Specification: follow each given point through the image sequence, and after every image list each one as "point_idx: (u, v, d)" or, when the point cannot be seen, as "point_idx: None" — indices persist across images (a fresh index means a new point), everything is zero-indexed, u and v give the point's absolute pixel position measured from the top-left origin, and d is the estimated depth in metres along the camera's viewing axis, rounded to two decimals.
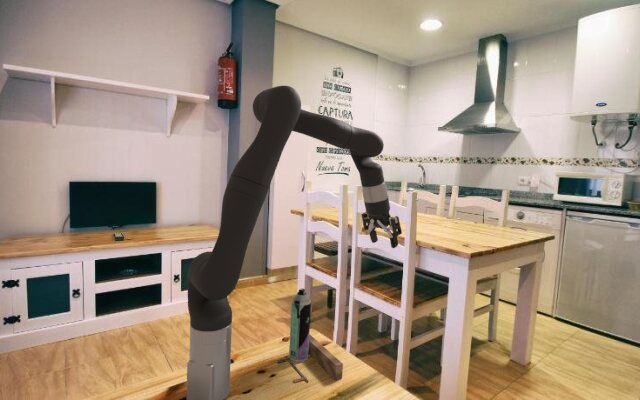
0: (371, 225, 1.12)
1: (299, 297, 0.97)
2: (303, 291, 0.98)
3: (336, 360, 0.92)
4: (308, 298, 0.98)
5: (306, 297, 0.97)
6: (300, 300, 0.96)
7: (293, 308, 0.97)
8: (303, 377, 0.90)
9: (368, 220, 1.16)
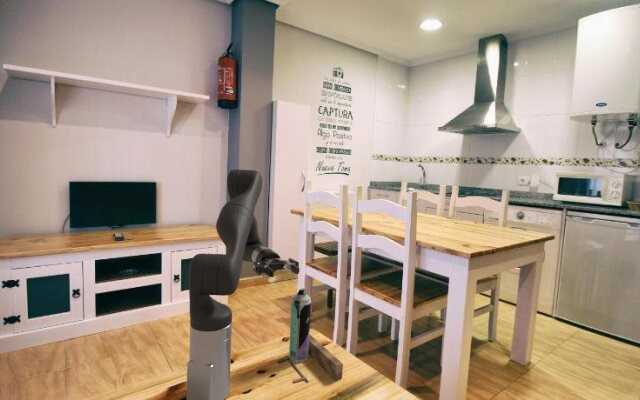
0: (269, 262, 1.12)
1: (299, 297, 0.97)
2: (303, 291, 0.98)
3: (336, 360, 0.92)
4: (308, 298, 0.98)
5: (306, 297, 0.97)
6: (300, 300, 0.96)
7: (293, 308, 0.97)
8: (303, 377, 0.90)
9: None
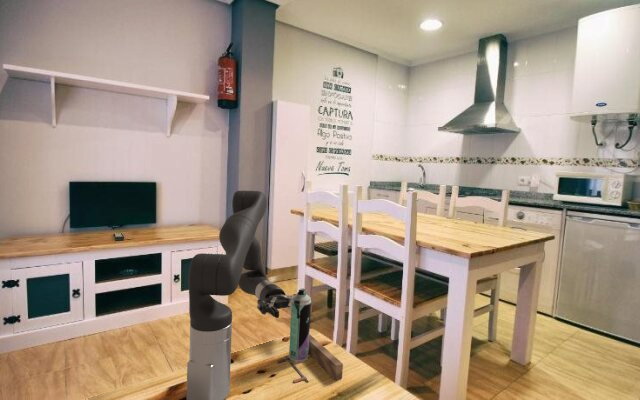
0: (274, 300, 1.08)
1: (299, 297, 0.97)
2: (303, 291, 0.98)
3: (336, 360, 0.92)
4: (308, 298, 0.98)
5: (306, 297, 0.97)
6: (300, 300, 0.96)
7: (293, 308, 0.97)
8: (303, 377, 0.90)
9: None
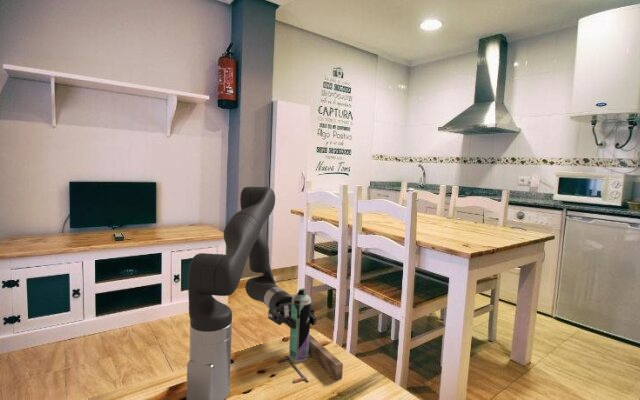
0: (287, 309, 1.02)
1: (299, 297, 0.97)
2: (303, 291, 0.98)
3: (336, 360, 0.92)
4: (308, 298, 0.97)
5: (306, 297, 0.97)
6: (300, 300, 0.96)
7: (293, 308, 0.97)
8: (303, 377, 0.90)
9: None
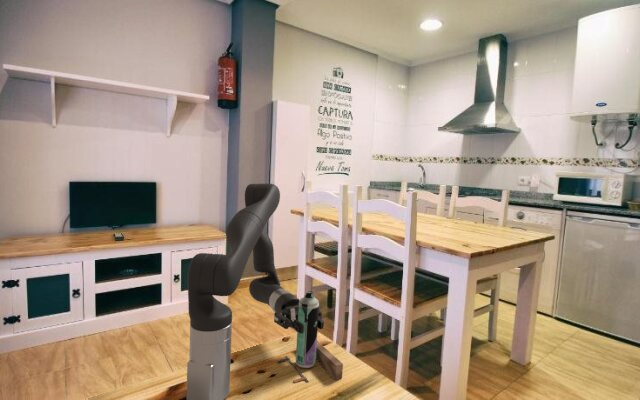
0: (293, 312, 0.98)
1: (307, 300, 0.93)
2: (311, 294, 0.94)
3: (336, 360, 0.92)
4: (316, 301, 0.94)
5: (314, 300, 0.94)
6: (308, 303, 0.92)
7: (300, 312, 0.93)
8: (303, 377, 0.90)
9: None
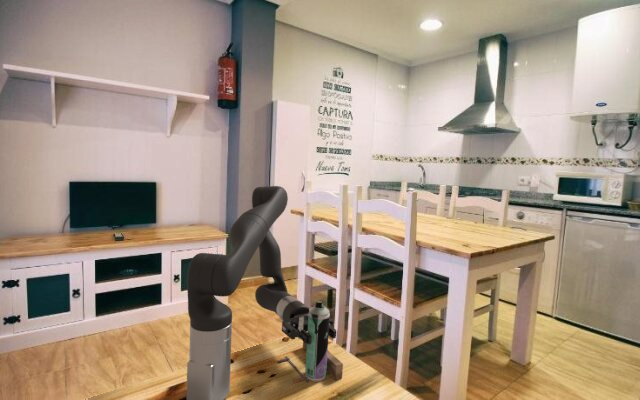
0: (302, 321, 0.93)
1: (317, 310, 0.88)
2: (321, 304, 0.89)
3: (336, 360, 0.92)
4: (327, 311, 0.89)
5: (324, 310, 0.89)
6: (318, 313, 0.88)
7: (310, 322, 0.88)
8: (303, 377, 0.90)
9: None
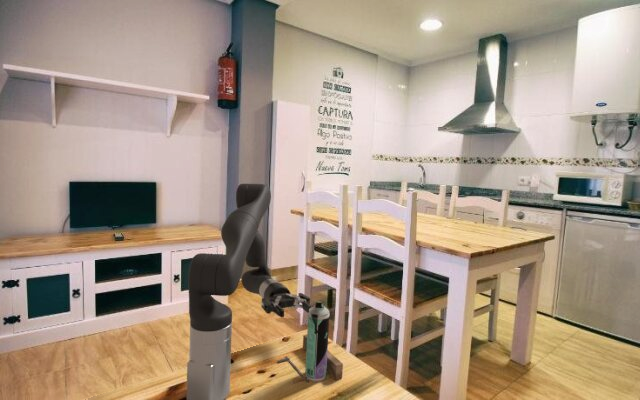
0: (278, 299, 1.05)
1: (317, 310, 0.88)
2: (321, 304, 0.89)
3: (336, 360, 0.92)
4: (326, 311, 0.89)
5: (324, 310, 0.89)
6: (318, 313, 0.88)
7: (310, 322, 0.88)
8: (303, 377, 0.90)
9: None
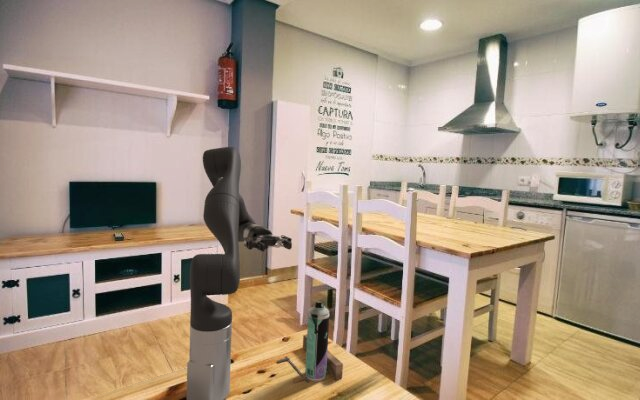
0: (260, 237, 1.09)
1: (317, 310, 0.88)
2: (321, 304, 0.89)
3: (336, 360, 0.92)
4: (326, 311, 0.89)
5: (324, 310, 0.89)
6: (318, 313, 0.88)
7: (310, 322, 0.89)
8: (303, 377, 0.90)
9: None
